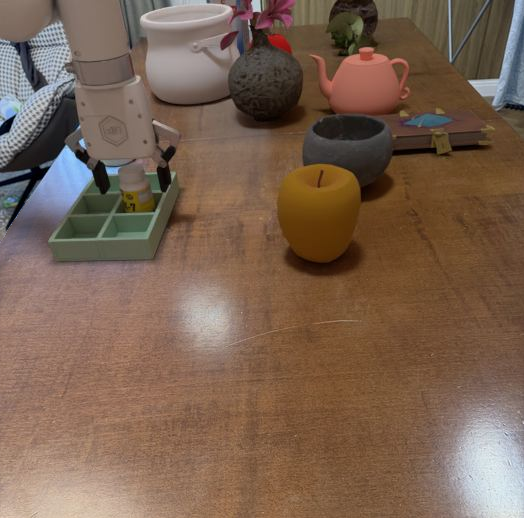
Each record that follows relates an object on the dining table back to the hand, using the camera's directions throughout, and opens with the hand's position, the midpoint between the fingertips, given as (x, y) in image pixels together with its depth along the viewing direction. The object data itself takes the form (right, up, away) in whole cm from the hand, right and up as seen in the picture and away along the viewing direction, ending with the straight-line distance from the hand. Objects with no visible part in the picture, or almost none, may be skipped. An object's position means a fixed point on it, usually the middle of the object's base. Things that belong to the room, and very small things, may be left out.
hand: (135, 189), depth 79 cm
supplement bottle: (0, -4, +4) cm, 5 cm away
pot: (+3, +42, +52) cm, 67 cm away
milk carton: (+11, +63, +73) cm, 97 cm away
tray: (-3, -4, +4) cm, 7 cm away
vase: (+21, +28, +36) cm, 50 cm away
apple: (+28, -12, -6) cm, 31 cm away
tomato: (+23, +51, +59) cm, 81 cm away
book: (+50, +16, +21) cm, 57 cm away
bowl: (+34, +4, +9) cm, 36 cm away
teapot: (+42, +29, +34) cm, 61 cm away
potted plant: (+47, +63, +70) cm, 105 cm away
